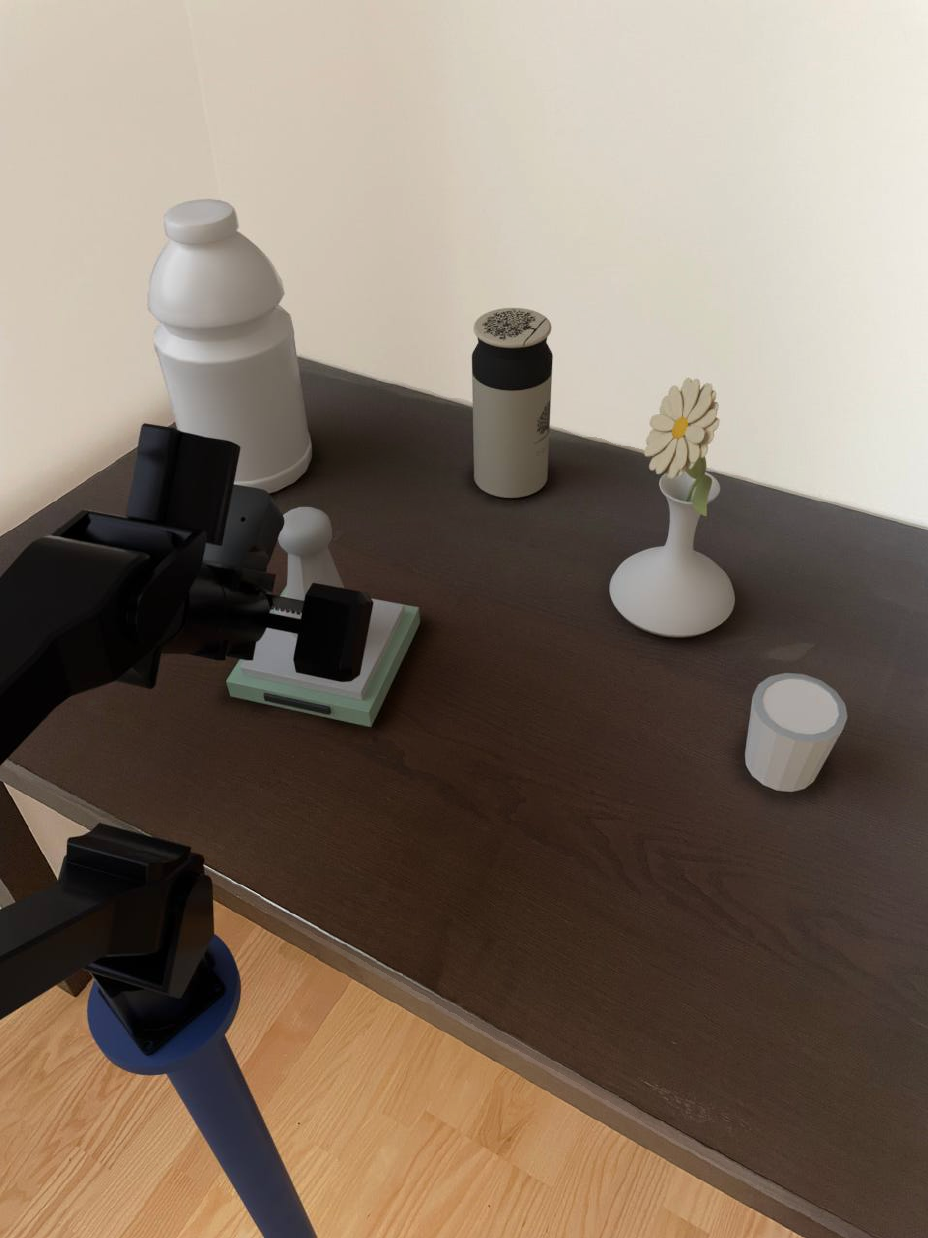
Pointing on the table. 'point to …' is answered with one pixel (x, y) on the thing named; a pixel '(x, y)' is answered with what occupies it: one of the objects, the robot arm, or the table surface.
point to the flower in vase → (678, 526)
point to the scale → (344, 701)
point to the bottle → (228, 344)
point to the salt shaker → (307, 552)
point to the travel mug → (511, 401)
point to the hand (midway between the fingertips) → (284, 618)
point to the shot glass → (792, 730)
